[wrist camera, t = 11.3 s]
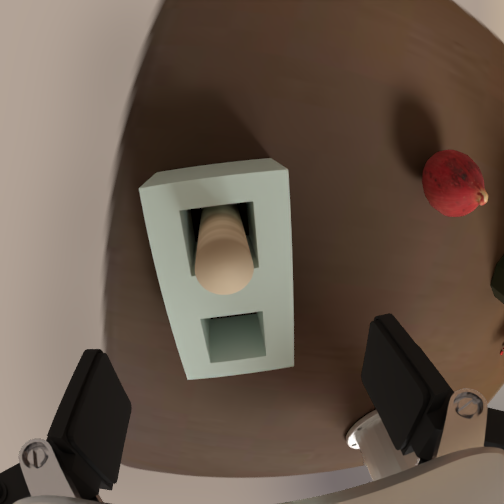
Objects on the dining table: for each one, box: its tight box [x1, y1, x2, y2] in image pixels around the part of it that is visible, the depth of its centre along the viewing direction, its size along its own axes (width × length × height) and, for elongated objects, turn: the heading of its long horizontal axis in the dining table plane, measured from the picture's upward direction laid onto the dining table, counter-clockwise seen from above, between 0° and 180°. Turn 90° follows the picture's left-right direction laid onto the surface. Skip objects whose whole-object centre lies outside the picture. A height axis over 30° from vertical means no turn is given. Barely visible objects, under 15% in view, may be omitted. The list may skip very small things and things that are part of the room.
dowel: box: [195, 203, 254, 295], centre depth 20 cm, size 3×3×10 cm
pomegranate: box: [422, 150, 488, 217], centre depth 22 cm, size 6×6×8 cm
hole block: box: [139, 158, 294, 380], centre depth 24 cm, size 16×9×6 cm, turn 5°
